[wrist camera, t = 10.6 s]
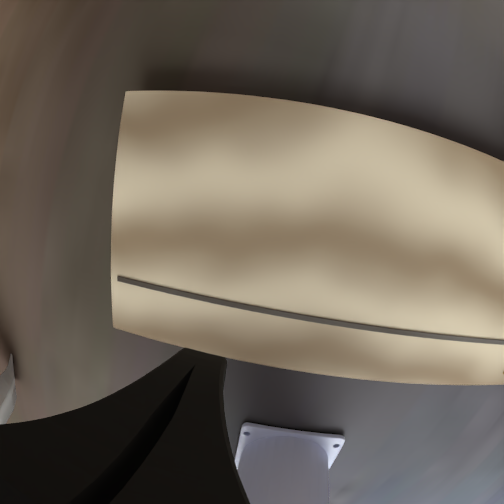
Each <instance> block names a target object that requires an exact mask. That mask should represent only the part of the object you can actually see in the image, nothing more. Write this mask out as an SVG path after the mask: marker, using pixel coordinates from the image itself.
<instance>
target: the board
mask: <svg viewBox="0 0 504 504" xmlns="http://www.w3.org/2000/svg"><path fill="white" fill-rule="evenodd" d="M111 291H112V314H113V327H114V328H117V329H120V330H123V331H127V332H130V333H133V334H137V335H140V336H143V337H147V338H150V339H154V340H158V341H161V342H165V343H169V344H172V345H176V346H180V347H184V348H190V349H193V350H197V351H201V352H205V353H209V354H214V355H218V356H222V357H226V358H231V359H236V360H240V361H245V362H250V363H256V364H261V365H266V366H272V367H277V368H283V369H289V370H295V371H301V372H308V373H315V374H322V375H329V376H337V377H345V378H354V379H364V380H374V381H385V382H398V383H414V384H436V385H500V384H504V161H501V160H499V159H497V158H494V157H492V156H490V155H487V154H485V153H482V152H480V151H477V150H475V149H472V148H470V147H467V146H465V145H462V144H459V143H457V142H454V141H451V140H448V139H445V138H442V137H440V136H437V135H434V134H430V133H427V132H424V131H421V130H418V129H415V128H411V127H408V126H404V125H401V124H397V123H394V122H390V121H386V120H383V119H379V118H375V117H371V116H367V115H363V114H358V113H354V112H349V111H345V110H340V109H335V108H330V107H325V106H320V105H314V104H308V103H302V102H296V101H290V100H283V99H275V98H268V97H259V96H250V95H240V94H229V93H215V92H197V91H126V93H125V99H124V105H123V111H122V117H121V124H120V131H119V139H118V147H117V156H116V166H115V177H114V190H113V206H112V229H111Z"/></svg>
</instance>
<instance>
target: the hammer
mask: <svg viewBox="0 0 504 504" xmlns="http://www.w3.org/2000/svg"><path fill="white" fill-rule="evenodd" d="M15 402H16V388H15V378H14V368H13V357H12V354H11V355H10V359H9V363H8V366H7V368H6V370H5V371H4V372H3V373H2V374H1V375H0V424H6V422H7V420H8V418H9V417H10V415H11V413H12V412H13V410H14V406H15Z"/></svg>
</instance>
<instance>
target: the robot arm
mask: <svg viewBox="0 0 504 504" xmlns="http://www.w3.org/2000/svg"><path fill="white" fill-rule="evenodd" d="M226 368H227V360H226V358H225V357H222V356H218V355H214V354H209V353H205V352H201V351H197V350H193V349H190V348H184V349H182V350H181V351H179V352H178V353H176V354H175V355H174V356H172V357H171V358H170V359H168V360H167V361H165V362H164V363H163V364H161V365H160V366H158V367H157V368H155V369H154V370H152V371H151V372H149V373H148V374H146V375H145V376H143V377H142V378H140V379H138V380H137V381H135V382H133V383H132V384H130V385H128V386H126V387H124V388H123V389H121V390H119V391H117V392H115V393H113V394H111V395H109V396H107V397H105V398H103V399H101V400H99V401H96V402H94V403H91V404H89V405H87V406H84V407H81V408H78V409H75V410H72V411H69V412H65V413H62V414H59V415H55V416H52V417H47V418H43V419H38V420H33V421H26V422H20V423H11V424H0V504H329V469H330V467H331V465H332V464H333V462H334V460H335V458H336V457H337V455H338V453H339V451H340V449H341V448H342V446H343V444H344V442H345V438H344V436H343V435H335V434H324V433H315V432H306V431H298V430H291V429H284V428H278V427H271V426H265V425H260V424H254V423H248V422H247V423H244V424H243V425H242V428H241V432H240V437H239V442H238V447H237V452H236V456H235V461H234V458H233V454H232V450H231V446H230V442H229V437H228V432H227V427H226V420H225V413H224V401H223V387H224V381H225V374H226Z"/></svg>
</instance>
